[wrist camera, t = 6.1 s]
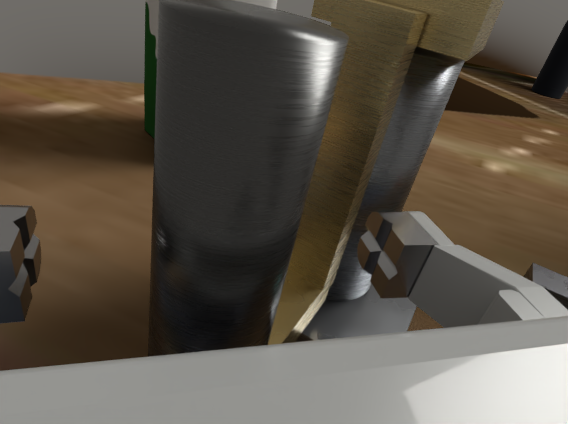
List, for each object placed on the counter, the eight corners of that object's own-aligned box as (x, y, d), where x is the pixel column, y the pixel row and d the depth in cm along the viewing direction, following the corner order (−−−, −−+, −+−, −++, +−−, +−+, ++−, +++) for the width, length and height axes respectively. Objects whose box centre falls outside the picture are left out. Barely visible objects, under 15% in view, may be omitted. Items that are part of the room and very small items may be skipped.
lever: (307, 214, 25) (374, -29, 18) (393, 254, 23) (504, 1, 16) (84, 414, 13) (25, -120, 6) (232, 535, 11) (409, -33, 4)
